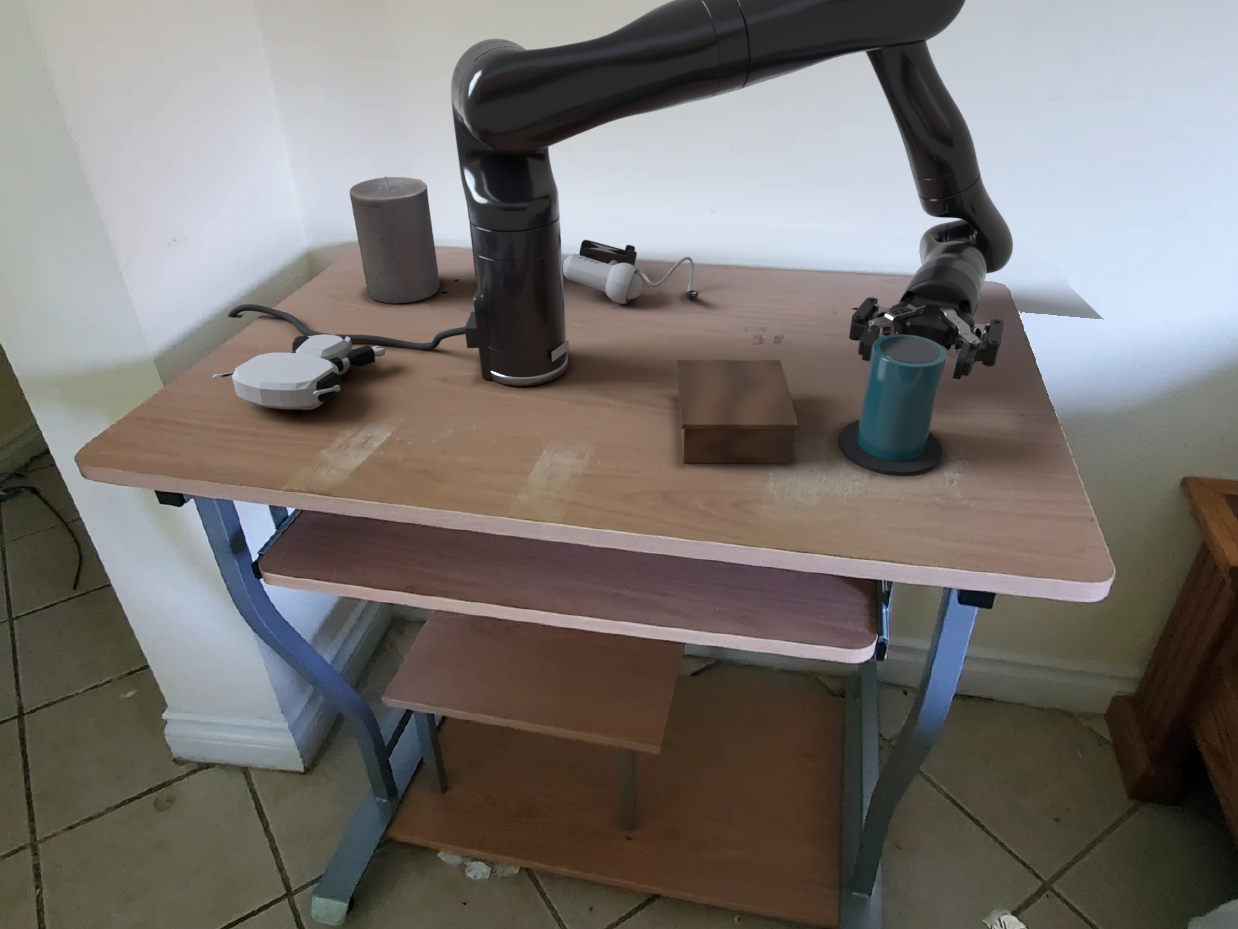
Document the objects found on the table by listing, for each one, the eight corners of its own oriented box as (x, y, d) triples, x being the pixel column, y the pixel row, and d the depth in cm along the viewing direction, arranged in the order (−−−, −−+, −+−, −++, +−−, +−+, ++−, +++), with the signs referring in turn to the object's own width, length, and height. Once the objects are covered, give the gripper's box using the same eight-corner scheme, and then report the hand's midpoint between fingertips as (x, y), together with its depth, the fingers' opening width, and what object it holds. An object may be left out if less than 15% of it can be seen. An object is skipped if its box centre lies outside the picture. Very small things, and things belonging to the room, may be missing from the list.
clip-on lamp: (701, 302, 118) (579, 262, 120) (714, 259, 115) (588, 218, 117) (684, 331, 108) (552, 287, 110) (698, 284, 105) (561, 240, 107)
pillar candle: (352, 293, 115) (329, 180, 106) (406, 270, 121) (388, 161, 113) (403, 310, 110) (383, 193, 102) (456, 285, 117) (442, 173, 108)
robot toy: (304, 357, 101) (216, 412, 89) (297, 321, 99) (206, 372, 87) (396, 372, 98) (318, 430, 86) (391, 334, 96) (310, 389, 84)
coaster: (849, 475, 79) (849, 471, 79) (830, 420, 87) (831, 417, 87) (954, 475, 79) (955, 472, 79) (926, 420, 87) (926, 417, 86)
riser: (680, 465, 81) (681, 424, 78) (676, 397, 91) (677, 359, 89) (793, 465, 80) (798, 424, 78) (776, 398, 91) (780, 360, 88)
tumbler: (864, 461, 80) (881, 365, 74) (850, 425, 85) (866, 333, 80) (933, 461, 80) (956, 366, 74) (915, 425, 85) (935, 333, 80)
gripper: (880, 254, 94) (842, 311, 82) (1020, 275, 89) (1000, 339, 77) (870, 317, 98) (832, 380, 86) (1002, 341, 93) (981, 411, 81)
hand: (911, 361), depth 81 cm, fingers open, 8 cm apart
